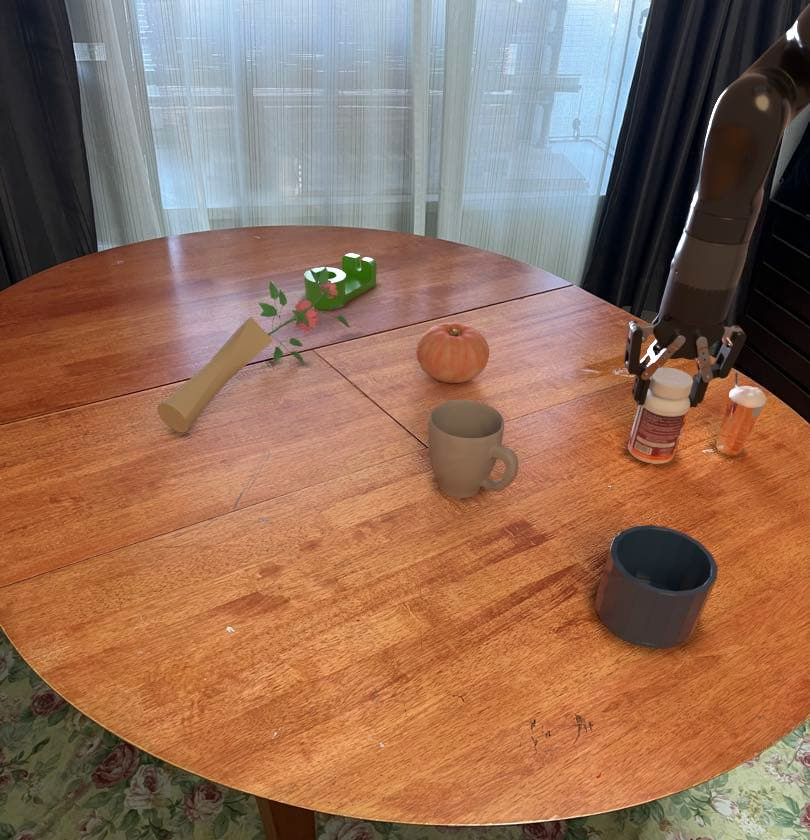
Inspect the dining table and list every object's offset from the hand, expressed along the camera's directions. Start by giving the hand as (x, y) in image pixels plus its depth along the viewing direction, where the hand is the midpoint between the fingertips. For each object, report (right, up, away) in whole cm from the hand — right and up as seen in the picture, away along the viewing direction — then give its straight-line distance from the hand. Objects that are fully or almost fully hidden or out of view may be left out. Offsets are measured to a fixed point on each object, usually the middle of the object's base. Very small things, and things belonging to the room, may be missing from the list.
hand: (665, 402), depth 97 cm
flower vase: (-55, +6, +15) cm, 58 cm away
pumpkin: (-26, +7, +19) cm, 33 cm away
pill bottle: (0, -6, +5) cm, 8 cm away
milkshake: (+11, -5, +7) cm, 14 cm away
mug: (-25, -12, -3) cm, 28 cm away
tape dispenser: (-45, +27, +40) cm, 66 cm away
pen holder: (-8, -25, -18) cm, 32 cm away
